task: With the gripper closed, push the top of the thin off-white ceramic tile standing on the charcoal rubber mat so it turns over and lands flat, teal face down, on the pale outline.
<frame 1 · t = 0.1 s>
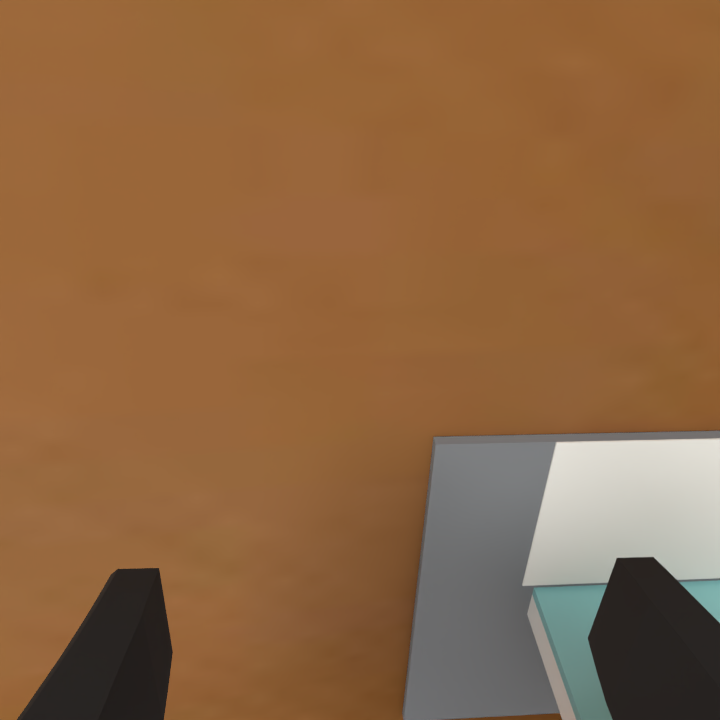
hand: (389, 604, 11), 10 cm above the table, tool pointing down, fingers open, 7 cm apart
mat: (636, 588, 27), on the table
tile: (641, 596, 26), resting on mat
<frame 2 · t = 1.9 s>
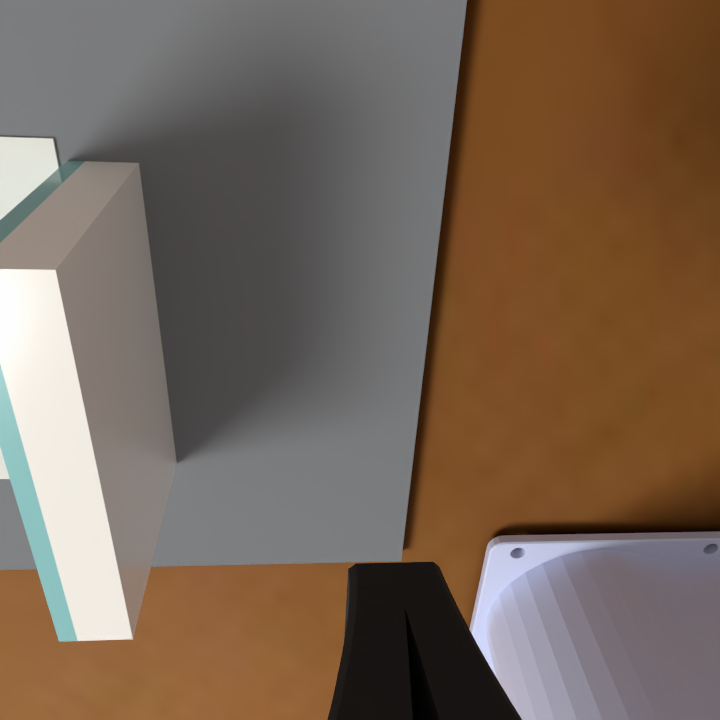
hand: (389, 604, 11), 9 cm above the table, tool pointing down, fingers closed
mat: (132, 325, 18), on the table
tile: (129, 332, 18), resting on mat
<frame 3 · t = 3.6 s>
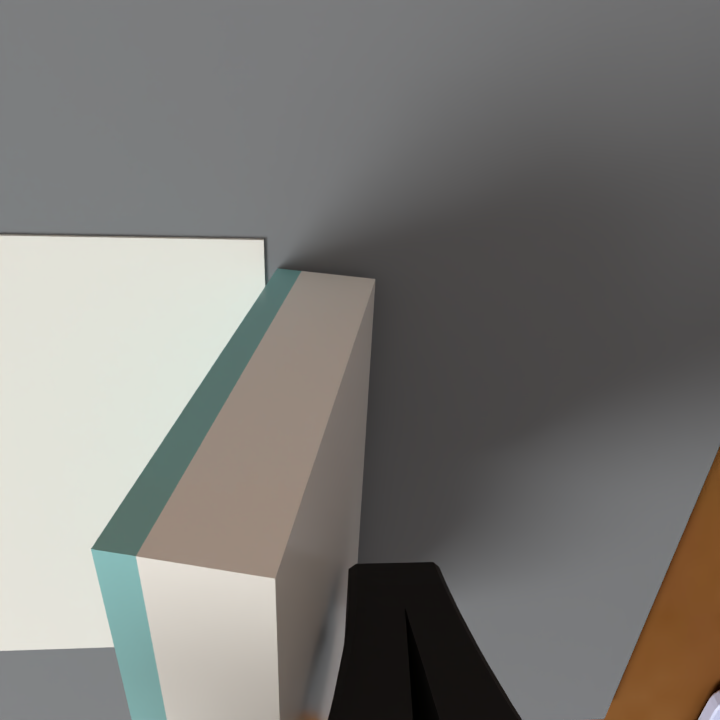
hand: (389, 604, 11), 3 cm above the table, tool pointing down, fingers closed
mat: (322, 465, 13), on the table
tile: (321, 485, 13), point 1 cm above the table, tilted 13°, touching gripper, mat
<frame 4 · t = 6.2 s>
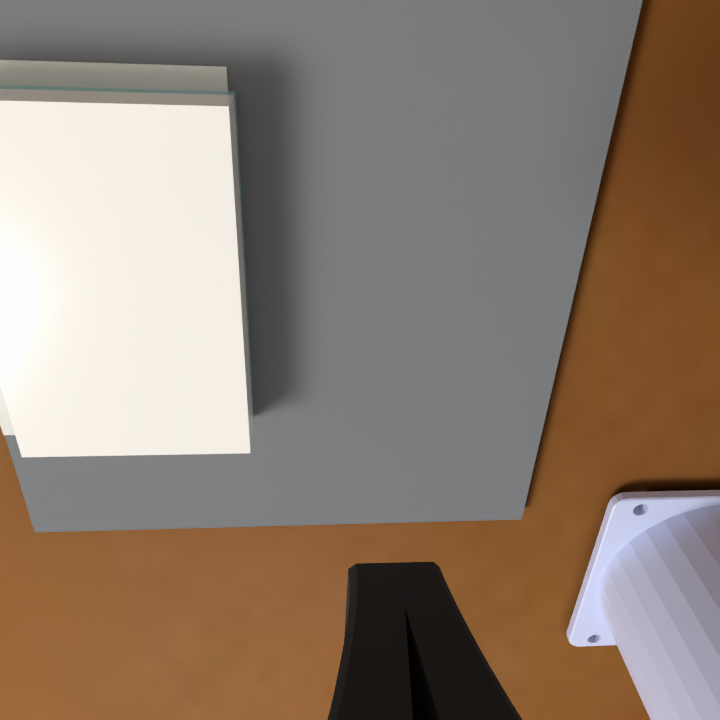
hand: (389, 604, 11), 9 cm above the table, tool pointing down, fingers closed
mat: (279, 270, 17), on the table
tile: (243, 291, 16), point 1 cm above the table, tilted 90°, touching mat
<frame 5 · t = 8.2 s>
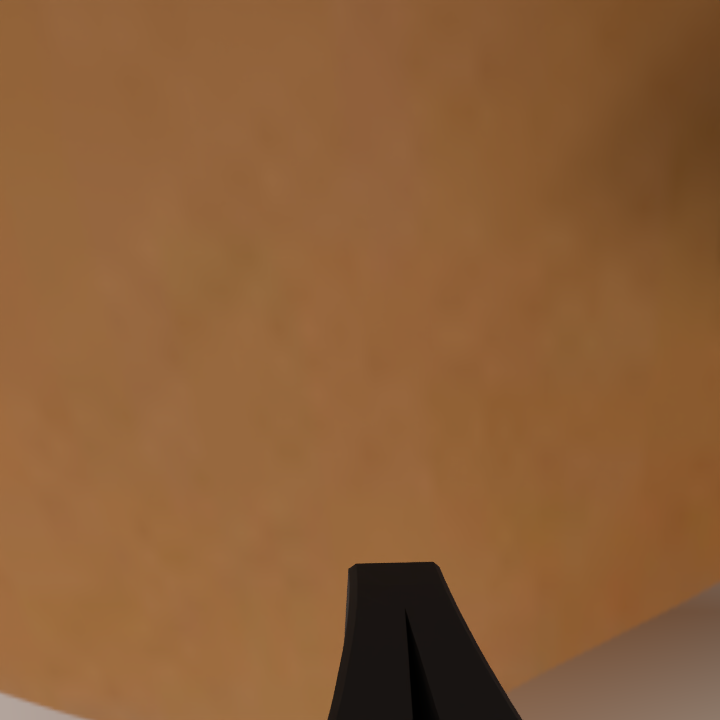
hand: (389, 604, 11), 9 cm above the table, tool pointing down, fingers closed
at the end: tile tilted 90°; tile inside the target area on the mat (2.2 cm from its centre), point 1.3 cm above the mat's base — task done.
